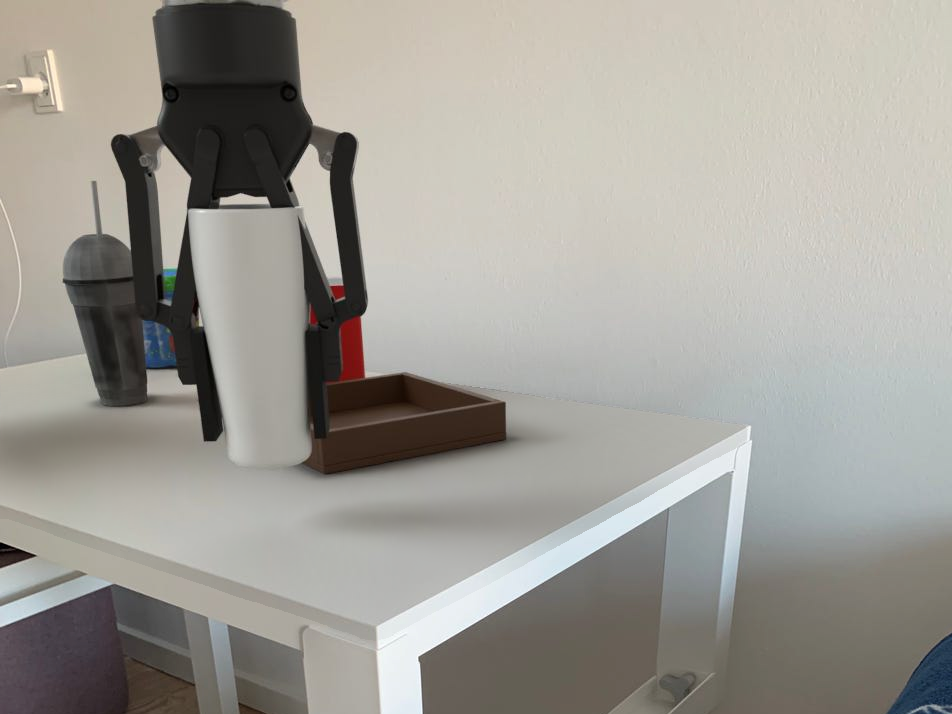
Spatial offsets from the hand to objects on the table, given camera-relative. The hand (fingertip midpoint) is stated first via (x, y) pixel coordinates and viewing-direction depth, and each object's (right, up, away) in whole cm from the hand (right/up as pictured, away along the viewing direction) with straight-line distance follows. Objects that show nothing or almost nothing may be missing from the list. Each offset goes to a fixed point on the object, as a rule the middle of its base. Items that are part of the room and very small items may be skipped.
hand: (268, 433), depth 64 cm
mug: (-2, +11, +37) cm, 38 cm away
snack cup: (-24, +19, +55) cm, 63 cm away
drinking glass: (0, -2, +1) cm, 2 cm away
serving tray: (+4, +4, +22) cm, 23 cm away
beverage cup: (-22, +11, +37) cm, 44 cm away
